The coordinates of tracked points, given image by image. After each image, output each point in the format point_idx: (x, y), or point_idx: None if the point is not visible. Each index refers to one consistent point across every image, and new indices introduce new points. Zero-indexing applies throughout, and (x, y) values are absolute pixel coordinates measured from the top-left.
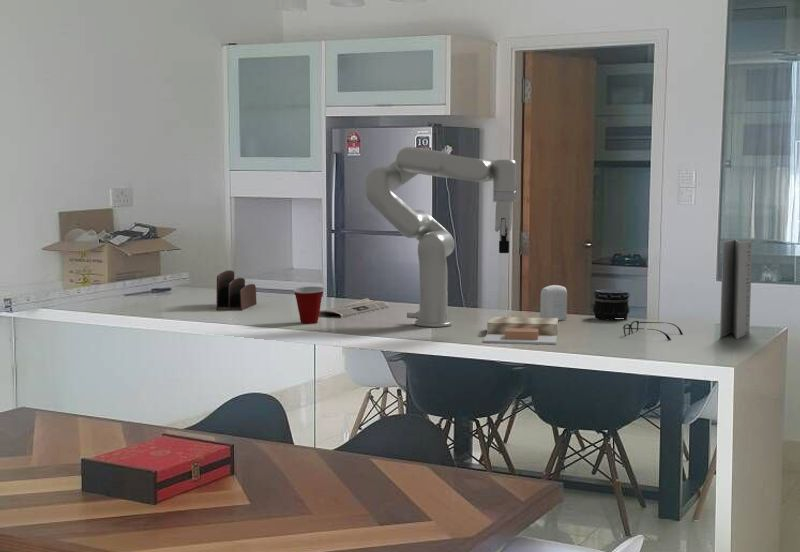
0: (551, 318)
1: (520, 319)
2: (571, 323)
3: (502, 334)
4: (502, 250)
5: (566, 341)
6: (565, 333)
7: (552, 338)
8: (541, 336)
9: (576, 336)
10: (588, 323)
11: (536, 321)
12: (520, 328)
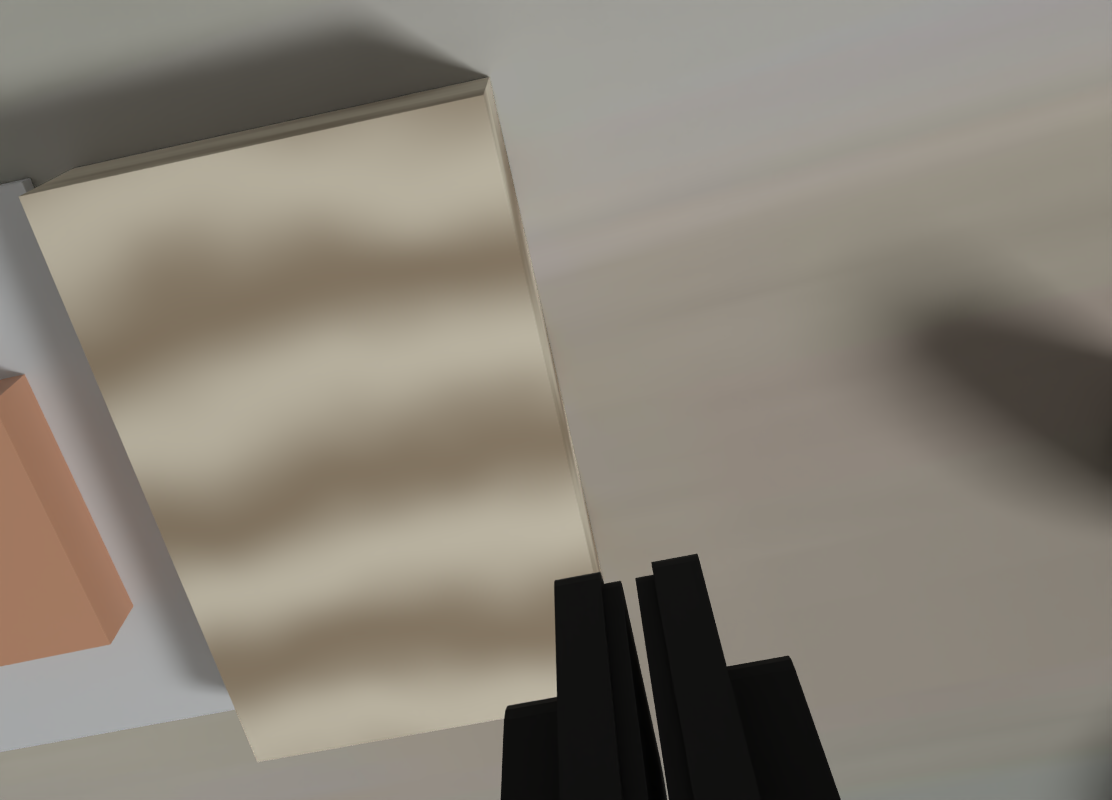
0: None
1: (403, 437)
2: (1048, 639)
3: (66, 326)
4: (511, 717)
5: (105, 781)
6: None
7: (85, 710)
8: (138, 625)
9: (365, 792)
10: (1073, 742)
11: (334, 593)
12: (36, 517)
